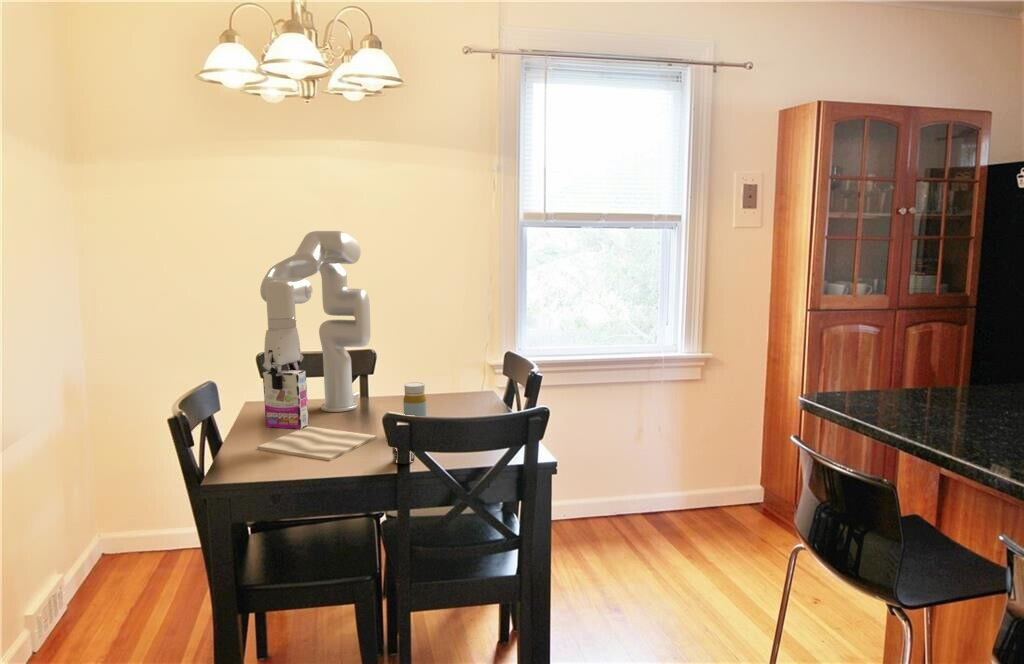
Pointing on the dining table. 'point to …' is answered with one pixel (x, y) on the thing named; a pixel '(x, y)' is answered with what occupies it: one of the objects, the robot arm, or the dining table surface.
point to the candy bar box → (286, 401)
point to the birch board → (317, 443)
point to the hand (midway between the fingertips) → (285, 386)
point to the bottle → (414, 399)
